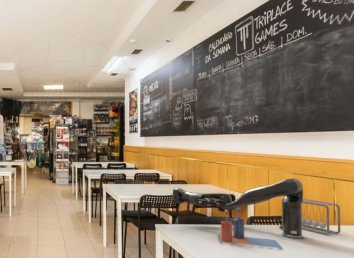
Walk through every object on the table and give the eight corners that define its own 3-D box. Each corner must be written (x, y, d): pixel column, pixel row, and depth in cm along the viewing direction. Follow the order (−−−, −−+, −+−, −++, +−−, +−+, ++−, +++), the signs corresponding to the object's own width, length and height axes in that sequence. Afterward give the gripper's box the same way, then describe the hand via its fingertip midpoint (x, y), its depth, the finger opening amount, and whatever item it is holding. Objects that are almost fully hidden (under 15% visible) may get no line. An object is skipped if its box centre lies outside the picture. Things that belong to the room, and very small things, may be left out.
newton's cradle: (340, 234, 201) (340, 204, 202) (328, 235, 198) (327, 205, 199) (293, 223, 230) (292, 196, 230) (281, 224, 226) (281, 197, 227)
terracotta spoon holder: (220, 238, 185) (220, 208, 186) (231, 240, 184) (231, 208, 184) (221, 241, 180) (221, 209, 181) (232, 242, 178) (232, 210, 179)
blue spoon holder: (232, 235, 192) (232, 206, 193) (243, 236, 190) (243, 206, 191) (233, 238, 187) (233, 207, 188) (245, 239, 185) (244, 208, 186)
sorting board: (218, 235, 195) (218, 234, 195) (274, 241, 185) (274, 239, 185) (220, 243, 180) (220, 241, 180) (281, 249, 170) (281, 248, 170)
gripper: (205, 204, 217) (228, 208, 202) (190, 206, 210) (213, 211, 195) (205, 192, 217) (228, 196, 203) (190, 194, 210) (212, 197, 196)
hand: (220, 203), depth 199 cm, fingers open, 8 cm apart
